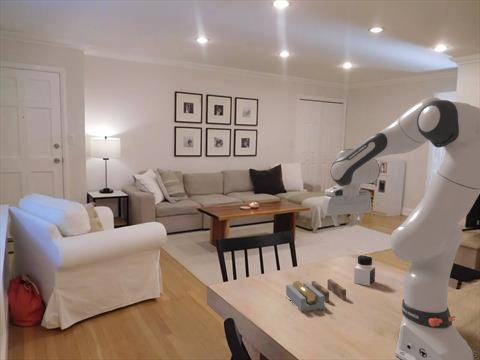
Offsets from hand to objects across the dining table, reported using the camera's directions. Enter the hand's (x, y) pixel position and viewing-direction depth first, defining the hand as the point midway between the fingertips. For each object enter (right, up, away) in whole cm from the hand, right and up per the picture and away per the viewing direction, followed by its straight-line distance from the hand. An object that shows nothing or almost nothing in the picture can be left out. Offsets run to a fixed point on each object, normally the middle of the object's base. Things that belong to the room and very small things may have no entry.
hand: (347, 225), depth 138 cm
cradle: (-18, -30, -3) cm, 35 cm away
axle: (-18, -26, -2) cm, 31 cm away
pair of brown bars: (-7, -29, +4) cm, 30 cm away
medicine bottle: (+13, -28, +18) cm, 36 cm away
